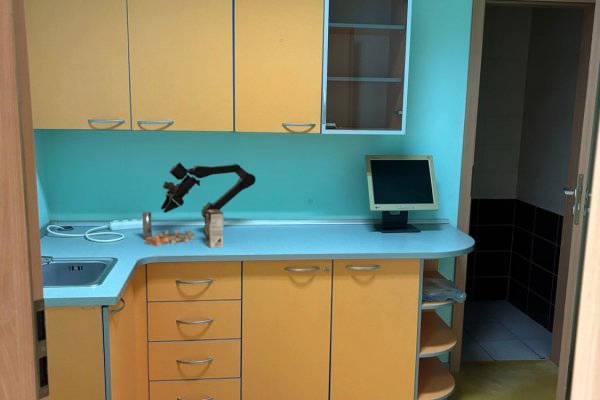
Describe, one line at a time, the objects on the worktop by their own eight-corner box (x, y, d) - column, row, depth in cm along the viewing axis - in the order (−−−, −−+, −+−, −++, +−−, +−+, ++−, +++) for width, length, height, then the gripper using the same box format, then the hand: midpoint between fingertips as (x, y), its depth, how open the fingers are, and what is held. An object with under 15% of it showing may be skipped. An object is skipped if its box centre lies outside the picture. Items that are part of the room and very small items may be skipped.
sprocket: (178, 233, 291) (178, 228, 291) (201, 238, 280) (201, 232, 280) (139, 241, 273) (139, 235, 273) (161, 247, 263) (161, 241, 262)
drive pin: (153, 238, 281) (152, 211, 279) (149, 240, 277) (148, 213, 275) (145, 238, 282) (144, 211, 280) (141, 239, 278) (140, 212, 276)
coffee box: (204, 243, 270) (204, 209, 268) (218, 242, 273) (217, 208, 271) (210, 248, 262) (209, 212, 260) (224, 246, 265) (223, 211, 262)
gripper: (169, 173, 288) (147, 196, 286) (175, 177, 271) (152, 202, 269) (186, 188, 292) (164, 211, 290) (193, 193, 275) (170, 218, 273)
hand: (162, 210), depth 280 cm, fingers open, 9 cm apart
